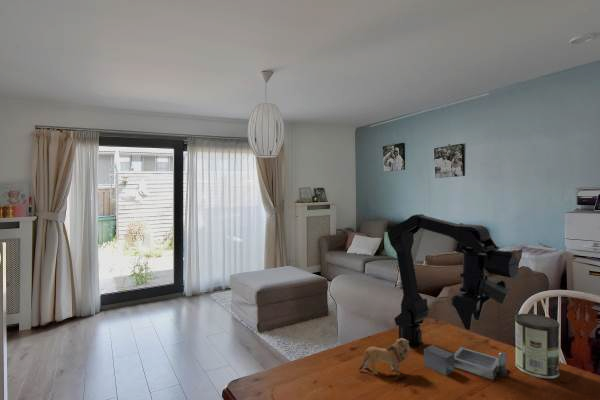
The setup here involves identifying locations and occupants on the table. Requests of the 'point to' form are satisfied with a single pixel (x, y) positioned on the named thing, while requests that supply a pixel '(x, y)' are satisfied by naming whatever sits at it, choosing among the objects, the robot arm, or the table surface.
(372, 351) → the lion figurine
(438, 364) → the block
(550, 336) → the coffee can
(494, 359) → the keeper cradle
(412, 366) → the table surface
